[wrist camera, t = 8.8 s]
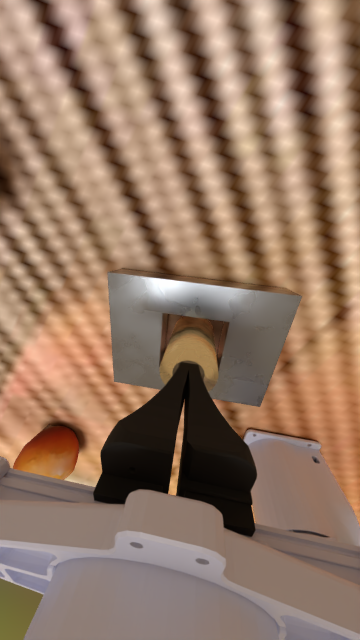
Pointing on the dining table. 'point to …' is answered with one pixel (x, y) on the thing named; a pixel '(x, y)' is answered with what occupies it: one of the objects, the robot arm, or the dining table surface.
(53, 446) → the fruit
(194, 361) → the bushing
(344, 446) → the dining table surface
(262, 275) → the dining table surface
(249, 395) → the jig
